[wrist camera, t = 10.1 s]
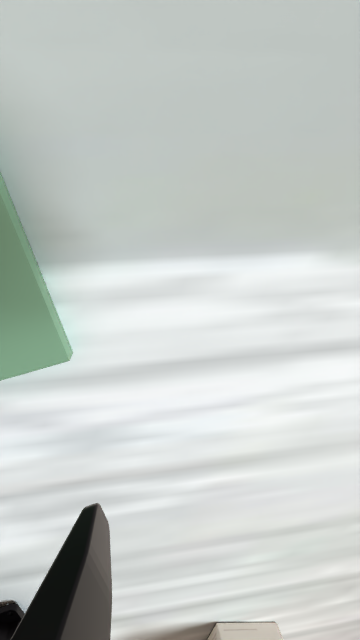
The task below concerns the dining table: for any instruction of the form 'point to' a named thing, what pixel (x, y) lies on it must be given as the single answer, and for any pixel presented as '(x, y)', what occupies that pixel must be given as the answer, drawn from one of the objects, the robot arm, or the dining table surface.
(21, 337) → the pin board
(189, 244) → the dining table surface
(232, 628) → the small box
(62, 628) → the robot arm
